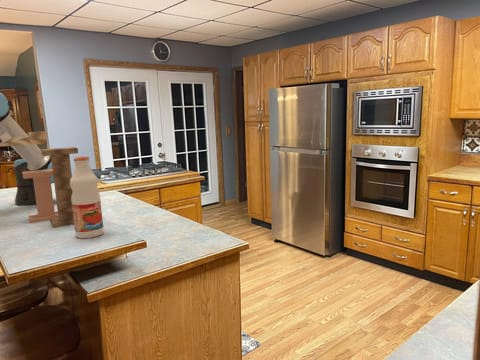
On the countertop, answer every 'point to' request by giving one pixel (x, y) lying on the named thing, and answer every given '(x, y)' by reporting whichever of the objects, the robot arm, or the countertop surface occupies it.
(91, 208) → the fruit juice
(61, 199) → the walnut stand
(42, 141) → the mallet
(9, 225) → the countertop surface
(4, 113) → the robot arm
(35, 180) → the terracotta stand
